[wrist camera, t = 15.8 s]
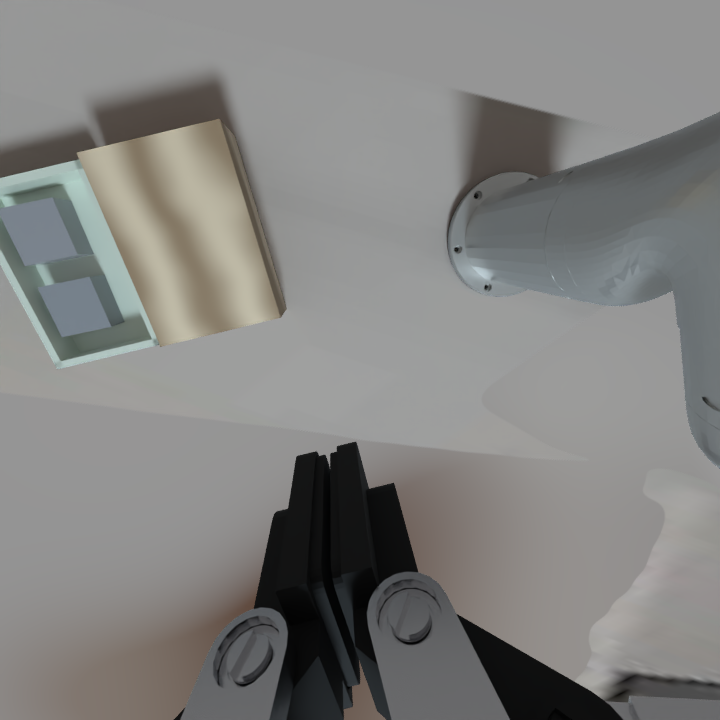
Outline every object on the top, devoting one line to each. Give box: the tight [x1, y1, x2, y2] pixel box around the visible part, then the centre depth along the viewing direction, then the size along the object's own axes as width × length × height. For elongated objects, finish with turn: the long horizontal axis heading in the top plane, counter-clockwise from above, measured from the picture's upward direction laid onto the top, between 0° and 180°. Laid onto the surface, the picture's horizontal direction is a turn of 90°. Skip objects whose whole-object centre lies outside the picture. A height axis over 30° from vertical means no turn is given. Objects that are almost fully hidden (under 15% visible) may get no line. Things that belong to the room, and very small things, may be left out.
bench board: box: [77, 119, 286, 347], centre depth 34 cm, size 12×17×5 cm
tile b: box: [0, 197, 94, 266], centre depth 33 cm, size 5×5×2 cm
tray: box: [0, 159, 160, 369], centre depth 34 cm, size 11×17×4 cm, turn 13°
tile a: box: [37, 275, 125, 337], centre depth 35 cm, size 5×5×2 cm
